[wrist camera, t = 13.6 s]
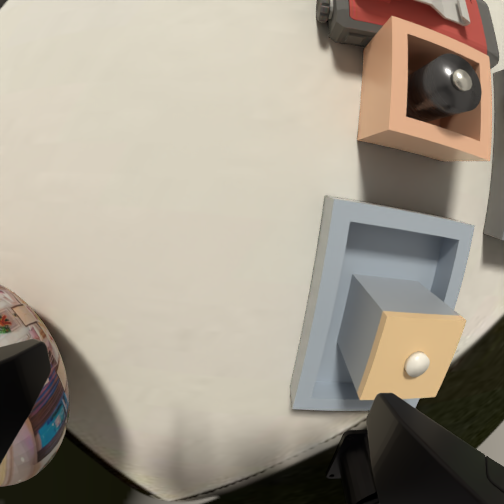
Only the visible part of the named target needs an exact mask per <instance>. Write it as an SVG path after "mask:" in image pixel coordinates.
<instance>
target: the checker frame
mask: <svg viewBox="0 0 504 504" xmlns="http://www.w3.org/2000/svg"><path fill="white" fill-rule="evenodd" d="M493 77H494V98H495V130H494V153H493V166H492V177H491V186H490V194H489V202H488V208H487V215H486V221H485V226H484V232H483V234H486V235H489V236H492V237H495V238H497V239H500V240H504V70H501V71H498V72H496V73H493Z"/></svg>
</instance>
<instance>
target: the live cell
mask: <svg viewBox="0 0 504 504" xmlns="http://www.w3.org/2000/svg"><path fill="white" fill-rule="evenodd" d="M465 323H466V320H465V319H464V318H463V317H462V316H460V315H459V314H458V313H457V312H455V311H454V310H453V309H452V308H451V307H449V306H448V305H447V304H446V303H444V302H443V301H442V300H441V299H439V298H438V297H437V296H436V295H434V294H433V293H432V292H431V291H429V290H428V289H427V288H425V287H424V286H423V285H422V284H420V283H419V282H418V281H413V280H404V279H395V278H386V277H377V276H368V275H359V274H352V277H351V282H350V287H349V292H348V296H347V301H346V305H345V309H344V314H343V318H342V322H341V326H340V330H339V334H338V338H337V343H338V345H339V348H340V350H341V353H342V355H343V358H344V360H345V363H346V366H347V368H348V371H349V373H350V376H351V378H352V381H353V384H354V386H355V389H356V392H357V394H358V397H359V399H360V400H374V399H375V397H376V395H377V394H379V393H394V394H395V395H397V396H398V397H399V398H401V399H413V398H428V397H435V396H436V394H437V392H438V390H439V388H440V386H441V384H442V381H443V379H444V377H445V375H446V372H447V370H448V368H449V365H450V363H451V361H452V358H453V356H454V353H455V351H456V348H457V345H458V343H459V340H460V337H461V335H462V332H463V329H464V326H465Z"/></svg>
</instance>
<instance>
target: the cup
mask: <svg viewBox="0 0 504 504" xmlns="http://www.w3.org/2000/svg"><path fill="white" fill-rule="evenodd" d="M447 53H451V54H455V55H458V56H460V57H462V58H463V59H465V60H466V61H467V62H468V63H469V64H470V65H471V66H472V67H473V69H474V70H475V72H476V74H477V76H478V78H479V81H480V84H481V91H482V95H481V100H480V103H479V104H478V106H477V107H476V108H475V109H473V110H471V111H467V112H463V113H459V114H455V115H451V116H448V117H444V118H440V119H436V120H433V121H429V122H423V121H419V120H416V119H412V118H409V117H406V108H407V84H408V76H409V75H410V74H412V73H413V72H415V71H416V70H418V69H420V68H421V67H423V66H424V65H426V64H428V63H429V62H431V61H433V60H434V59H436V58H437V57H439V56H441V55H443V54H447ZM491 134H492V92H491V73H490V61H489V56H488V55H486V54H484V53H482V52H480V51H478V50H476V49H474V48H472V47H470V46H468V45H466V44H463V43H461V42H459V41H457V40H455V39H452V38H450V37H448V36H446V35H443V34H441V33H438V32H436V31H433V30H431V29H428V28H426V27H423V26H420V25H418V24H415V23H412V22H409V21H406V20H403V19H400V18H397V17H394V16H391V17H390V18H389V19H388V21H387V22H386V23H385V24H384V25H383V27H382V28H381V29H380V30H379V31H378V33H377V34H376V35H375V36H374V37H373V38H372V40H371V41H370V42H369V43H368V45H367V46H366V47H365V48H364V49H363V70H362V87H361V102H360V114H359V125H358V136H357V140H358V141H363V142H368V143H372V144H377V145H381V146H386V147H390V148H394V149H398V150H402V151H406V152H410V153H414V154H418V155H422V156H425V157H429V158H433V159H436V160H440V161H490V154H491Z"/></svg>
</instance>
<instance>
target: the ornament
mask: <svg viewBox="0 0 504 504" xmlns="http://www.w3.org/2000/svg"><path fill="white" fill-rule="evenodd" d="M29 339H37V340H40V341H43V342H44V343H45V344H46V346H47V350H48V354H49V359H50V364H51V372H50V375H49V377H48V379H47V381H46V383H45V385H44V387H43V389H42V391H41V393H40V395H39V397H38V399H37V401H36V403H35V405H34V407H33V409H32V411H31V413H30V415H29V416H28V418H27V420H26V421H25V423H24V425H23V426H22V428H21V430H20V431H19V433H18V435H17V436H16V438H15V440H14V441H13V443H12V445H11V447H10V448H9V450H8V452H7V454H6V455H5V457H4V459H3V461H2V463H1V464H0V486H7V485H13V484H17V483H19V482H22V481H25V480H28V479H29V478H31V477H32V476H34V475H36V474H38V473H39V472H40V471H41V470H42V469H43V468H44V467H45V466H46V465H48V463H49V462H50V461H51V460H52V458H53V457H54V456H55V454H56V452H57V450H58V449H59V447H60V445H61V443H62V440H63V438H64V435H65V432H66V427H67V422H68V417H69V389H68V380H67V375H66V371H65V367H64V364H63V361H62V358H61V355H60V352H59V350H58V347H57V345H56V343H55V341H54V339H53V337H52V336H51V334H50V332H49V331H48V329H47V328H46V326H45V325H44V323H43V322H42V320H41V319H40V318H39V316H38V315H37V314H36V313H35V312H34V311H33V309H32V308H31V307H30V306H29V305H28V304H27V303H26V302H25V301H24V300H22V299H21V298H20V297H19V296H17V295H16V294H15V293H13V292H12V291H10V290H9V289H7V288H6V287H4V286H2V285H0V347H2V346H6V345H10V344H14V343H18V342H22V341H26V340H29Z"/></svg>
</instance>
